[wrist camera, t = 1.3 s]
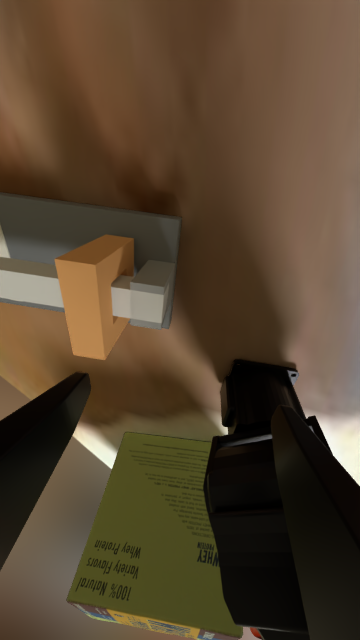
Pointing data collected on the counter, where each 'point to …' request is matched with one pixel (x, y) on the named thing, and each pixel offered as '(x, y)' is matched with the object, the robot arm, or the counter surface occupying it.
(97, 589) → the protein box
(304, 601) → the robot arm
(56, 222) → the pipe rig
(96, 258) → the collar
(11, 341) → the counter surface
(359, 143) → the counter surface
